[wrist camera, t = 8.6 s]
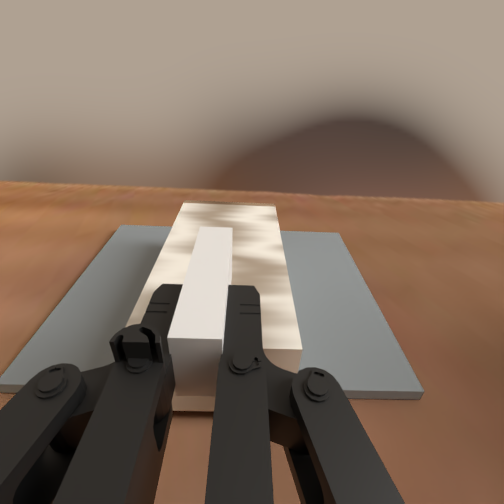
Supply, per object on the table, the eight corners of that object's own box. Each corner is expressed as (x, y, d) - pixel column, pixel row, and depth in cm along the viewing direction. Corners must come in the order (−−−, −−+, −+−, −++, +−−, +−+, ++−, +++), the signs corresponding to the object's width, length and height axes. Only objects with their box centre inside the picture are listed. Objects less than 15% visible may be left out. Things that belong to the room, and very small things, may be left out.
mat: (336, 239, 33) (338, 232, 33) (419, 399, 17) (424, 391, 17) (122, 231, 33) (121, 224, 32) (0, 392, 16) (-6, 384, 16)
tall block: (289, 412, 16) (270, 250, 29) (302, 349, 13) (274, 203, 26) (135, 410, 15) (188, 248, 29) (116, 345, 13) (184, 200, 26)
